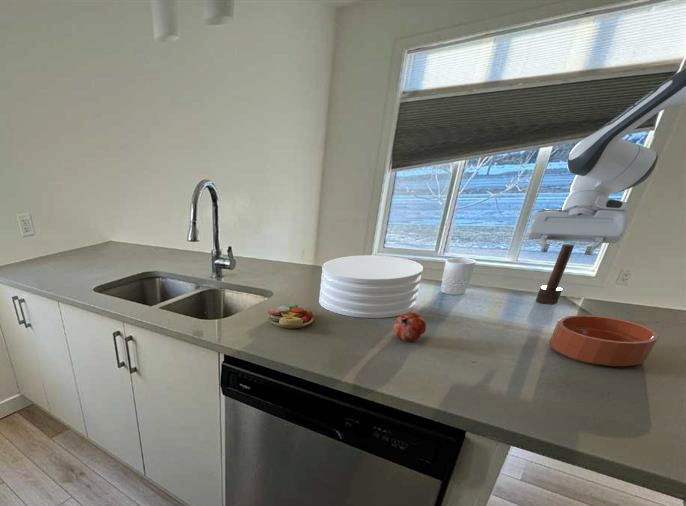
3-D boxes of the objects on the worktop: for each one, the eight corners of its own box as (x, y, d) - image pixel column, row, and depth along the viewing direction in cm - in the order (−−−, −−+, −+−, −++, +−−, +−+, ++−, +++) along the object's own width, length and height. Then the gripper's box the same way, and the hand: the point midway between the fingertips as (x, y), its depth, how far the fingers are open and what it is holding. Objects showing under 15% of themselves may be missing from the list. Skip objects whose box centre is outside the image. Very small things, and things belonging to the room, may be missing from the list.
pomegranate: (399, 339, 109) (379, 324, 104) (420, 317, 107) (400, 300, 102) (419, 353, 103) (398, 337, 99) (441, 330, 101) (421, 313, 96)
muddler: (552, 299, 119) (575, 243, 111) (560, 304, 115) (584, 246, 107) (532, 298, 120) (553, 243, 112) (539, 304, 117) (561, 247, 109)
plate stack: (374, 325, 113) (381, 285, 107) (300, 301, 134) (303, 267, 129) (434, 302, 124) (443, 265, 118) (357, 283, 146) (362, 251, 140)
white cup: (451, 286, 135) (459, 256, 130) (473, 292, 129) (482, 261, 124) (432, 290, 133) (439, 260, 128) (453, 297, 127) (462, 265, 122)
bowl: (617, 340, 95) (629, 316, 92) (662, 372, 82) (678, 345, 79) (536, 337, 99) (545, 314, 96) (567, 366, 87) (579, 341, 84)
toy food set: (290, 334, 113) (291, 323, 111) (258, 321, 123) (258, 311, 121) (322, 321, 119) (324, 311, 117) (289, 310, 128) (289, 300, 127)
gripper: (537, 202, 119) (520, 243, 118) (636, 203, 106) (619, 248, 105) (534, 215, 124) (517, 255, 123) (628, 218, 111) (611, 262, 110)
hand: (565, 252), depth 114 cm, fingers open, 8 cm apart
